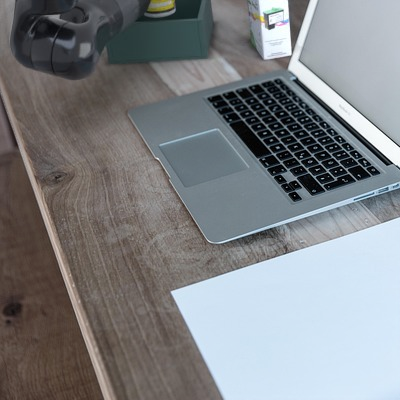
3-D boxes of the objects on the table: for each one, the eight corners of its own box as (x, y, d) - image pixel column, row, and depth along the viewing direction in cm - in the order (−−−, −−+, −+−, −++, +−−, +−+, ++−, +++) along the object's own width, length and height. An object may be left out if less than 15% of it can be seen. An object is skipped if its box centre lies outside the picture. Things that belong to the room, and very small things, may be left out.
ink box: (249, 42, 119) (242, -29, 113) (278, 37, 121) (272, -33, 114) (263, 61, 113) (256, -13, 106) (293, 56, 114) (288, -18, 107)
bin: (109, 65, 114) (101, 25, 110) (126, 28, 126) (118, -8, 123) (207, 59, 114) (202, 19, 110) (213, 23, 127) (209, -13, 123)
